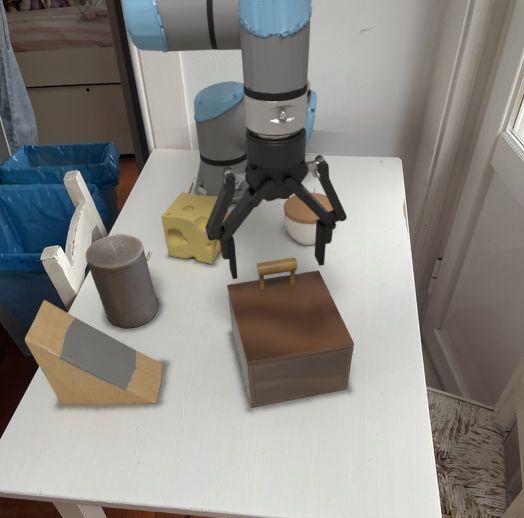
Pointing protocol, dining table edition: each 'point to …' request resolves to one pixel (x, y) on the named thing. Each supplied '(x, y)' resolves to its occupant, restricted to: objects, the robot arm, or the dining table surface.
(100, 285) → the pillar candle
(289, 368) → the bread box
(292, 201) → the trinket box
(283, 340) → the lid
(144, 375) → the sandwich container
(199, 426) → the dining table surface
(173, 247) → the cheese
